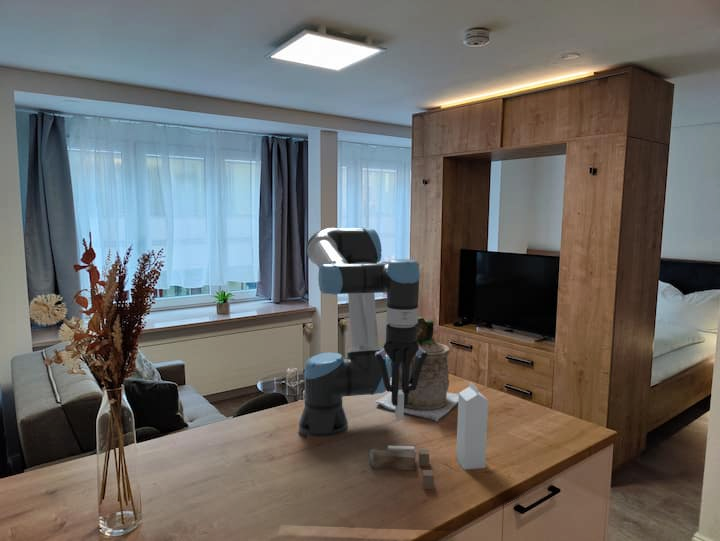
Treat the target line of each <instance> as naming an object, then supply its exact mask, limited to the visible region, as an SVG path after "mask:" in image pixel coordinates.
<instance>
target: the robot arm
mask: <svg viewBox="0 0 720 541" xmlns="http://www.w3.org/2000/svg"><path fill="white" fill-rule="evenodd" d="M381 243H382V242H381V239H380V236H379V234H378V233H377V231H376V230H375V229H374V228H369V227H327V228H324V229H320V230H319V231H317V232H315V233H314V234H313V235H311V236H310V238H309V239H308V240H307V243H306V248H305V249H306V255H307V257H308V259H309V260H310V261H311V263H312V264H315V265H316V266H317V267H318V287H319V291H320V293H322V294H325V295H326V294H327V295H334V296H335V295H346V294H347V296H348V298H347V299H348V311H349V314H348V315H349V325H350V326H349V327H350V328H349V329H350V343H351V344H350V345H351V347H350V348H349V349H348V351H347V353H346V355H347V357H344V356H343V355H342V354H341V353H339V352H323V353H318V354H316V355H313V356H311V357H309V358H308V359H307V360H306V362H305V363H304V364H305V365H304V374H303V376H304V407H303V409H302V410H303V411H302V414H301V416H300V419H299V424H298V432H299V434H300V435H301V436H303V437H305V438H307V437H308V435H309V436H313V437H332V436H337V435H339V434H342V433H343V432H345V431H346V430H347V429H348V427H349V423H348V422H349V421H348V418H347V415H346V412H345V409H344V405H343V397H354V396H366V395H367V396H368V395H371V396H374V395H377V394H383V393H385V392H388V393H390V392H392V400H391V402H392V404H393V406H395V410H394V416H395V417H396V419H397V420H399V421H400V420H404V416H405V413H404V405H407V404H408V394H409V391H411V390H415V389H416V386H417V383H418V379H419V376H420V372H421V368H422V365H423V362H424V360H425V359H426V357H427V356H428V354H427V353H426V352H425V351H424V350H421V349H420V348H419V346H418V344H417V329H418V327H417V325H416V324H417V323H418V317H419V297H420V296H419V292H420V279H421V274H420V263H419V261H417V260H415V259H407V258H406V259H405V258H397V259H396V258H393V259H391V260H389V261H381V260H382V257H383V256H382V244H381ZM380 261H381V262H380ZM379 293H381V294H382V293H383V294H384V293H386V319H385V320H386V326H385V328H386V329H385V343H384V345H383V348H382V347H381V346H380V345H379V334H378V323H377V322H378V321H377V313H376V312H377V310H376V296H375V294H379ZM416 352H417V353H416ZM415 354H416V356H417V357H416V360H415V363H414V367H413V371H412V374H411V378H410V381H409V367H410V360H411V359H412V358H413V356H414V355H415ZM391 362H392V368H391ZM400 362H402V390H398V387H399V367H400Z"/></svg>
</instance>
